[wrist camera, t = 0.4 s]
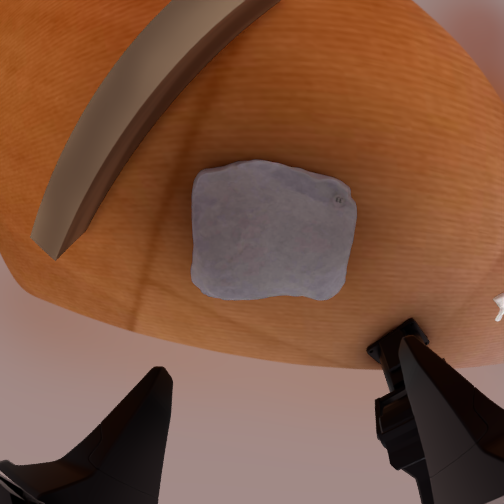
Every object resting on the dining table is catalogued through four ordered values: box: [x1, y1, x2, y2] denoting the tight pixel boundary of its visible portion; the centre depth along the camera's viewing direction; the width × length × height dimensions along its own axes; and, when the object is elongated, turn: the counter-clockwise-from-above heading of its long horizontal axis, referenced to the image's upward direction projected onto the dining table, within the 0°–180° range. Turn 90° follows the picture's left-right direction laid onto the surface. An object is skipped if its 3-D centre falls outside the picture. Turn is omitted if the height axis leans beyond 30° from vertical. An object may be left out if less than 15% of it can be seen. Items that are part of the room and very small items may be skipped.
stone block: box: [191, 159, 357, 300], centre depth 20 cm, size 12×5×10 cm
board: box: [30, 0, 280, 261], centre depth 14 cm, size 3×24×5 cm, turn 136°
